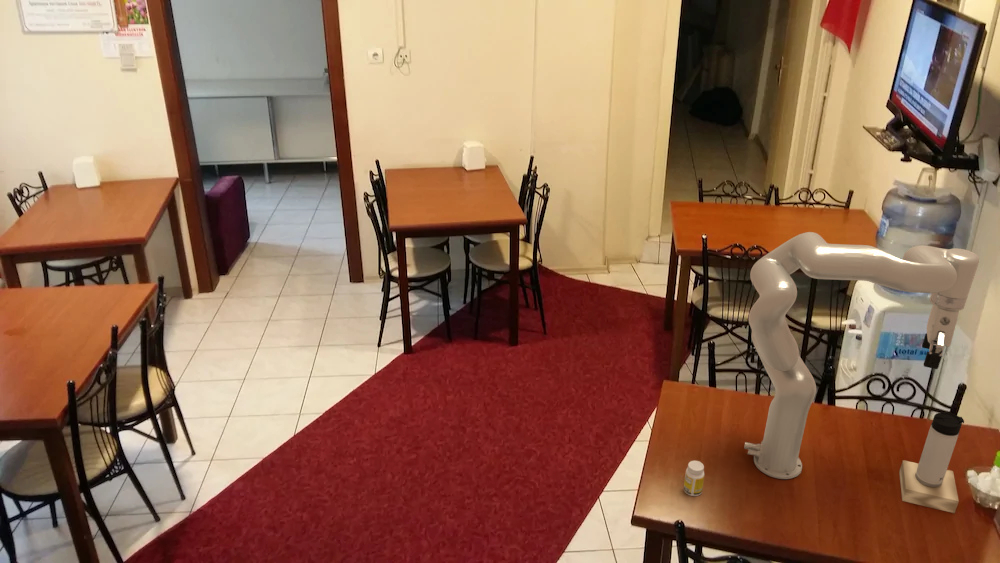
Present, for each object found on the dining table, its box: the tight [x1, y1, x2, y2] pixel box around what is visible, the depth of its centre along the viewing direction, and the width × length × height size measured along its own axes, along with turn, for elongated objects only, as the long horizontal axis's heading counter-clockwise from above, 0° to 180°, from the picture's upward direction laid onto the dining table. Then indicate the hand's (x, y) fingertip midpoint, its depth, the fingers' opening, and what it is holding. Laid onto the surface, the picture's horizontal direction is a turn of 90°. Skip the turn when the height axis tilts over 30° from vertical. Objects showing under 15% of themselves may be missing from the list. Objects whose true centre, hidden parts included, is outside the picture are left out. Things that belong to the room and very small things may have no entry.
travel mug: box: [915, 411, 965, 487], centre depth 194 cm, size 6×7×20 cm
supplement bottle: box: [683, 460, 705, 497], centre depth 199 cm, size 5×5×8 cm
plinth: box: [898, 459, 960, 514], centre depth 199 cm, size 12×12×4 cm
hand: (929, 357), depth 194 cm, fingers open, 9 cm apart
